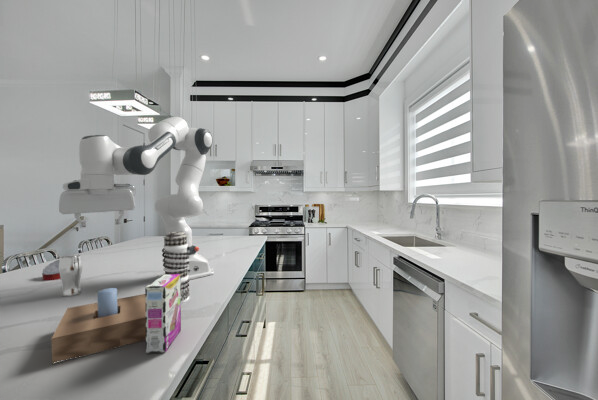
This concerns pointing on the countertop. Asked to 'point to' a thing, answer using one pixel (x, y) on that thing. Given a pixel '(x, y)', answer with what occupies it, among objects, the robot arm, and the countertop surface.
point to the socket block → (99, 328)
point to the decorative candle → (177, 259)
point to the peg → (107, 302)
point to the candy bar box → (162, 312)
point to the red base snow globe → (51, 271)
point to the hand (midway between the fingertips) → (101, 225)
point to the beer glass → (70, 274)
